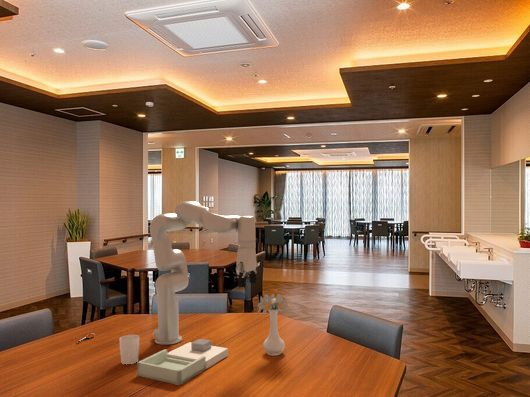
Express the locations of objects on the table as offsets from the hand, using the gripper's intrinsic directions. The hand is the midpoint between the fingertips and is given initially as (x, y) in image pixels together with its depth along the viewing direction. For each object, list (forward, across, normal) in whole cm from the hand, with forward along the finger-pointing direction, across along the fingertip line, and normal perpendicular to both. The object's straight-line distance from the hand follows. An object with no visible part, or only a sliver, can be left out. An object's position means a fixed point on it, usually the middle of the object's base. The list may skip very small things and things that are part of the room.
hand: (247, 284), depth 181 cm
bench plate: (+30, +13, -17) cm, 37 cm away
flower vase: (+30, -6, +9) cm, 32 cm away
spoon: (+30, +19, -80) cm, 88 cm away
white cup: (+30, +28, -40) cm, 57 cm away
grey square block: (+26, +10, -17) cm, 33 cm away
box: (+30, +29, -17) cm, 45 cm away
